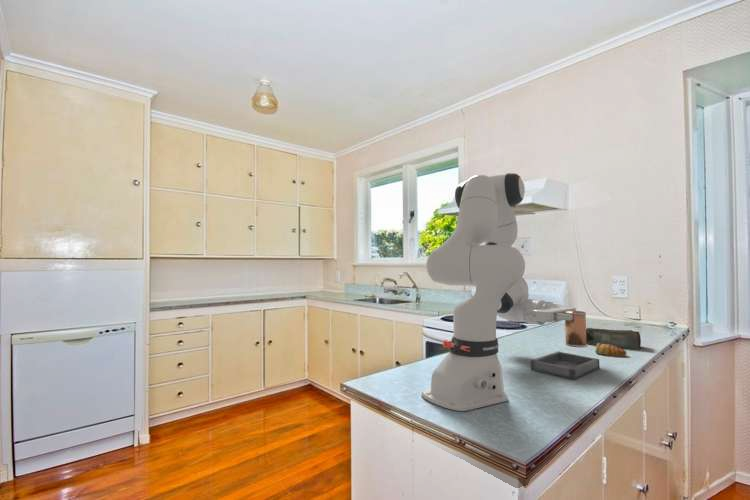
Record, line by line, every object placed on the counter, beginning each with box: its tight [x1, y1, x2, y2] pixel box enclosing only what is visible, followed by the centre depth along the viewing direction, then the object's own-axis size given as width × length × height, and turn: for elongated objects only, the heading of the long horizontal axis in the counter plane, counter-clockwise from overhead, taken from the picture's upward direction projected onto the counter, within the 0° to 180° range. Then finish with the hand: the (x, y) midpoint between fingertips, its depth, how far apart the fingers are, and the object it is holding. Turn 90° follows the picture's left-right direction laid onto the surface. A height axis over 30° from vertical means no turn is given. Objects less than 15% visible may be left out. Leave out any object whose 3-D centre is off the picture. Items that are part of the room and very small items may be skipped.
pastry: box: [594, 343, 627, 358], centre depth 132 cm, size 9×7×4 cm
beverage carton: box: [586, 327, 642, 351], centre depth 147 cm, size 8×19×7 cm, turn 54°
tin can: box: [564, 310, 588, 348], centre depth 119 cm, size 6×6×11 cm
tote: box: [530, 351, 601, 381], centre depth 114 cm, size 18×13×3 cm
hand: (578, 316), depth 118 cm, fingers closed on tin can, 6 cm apart
